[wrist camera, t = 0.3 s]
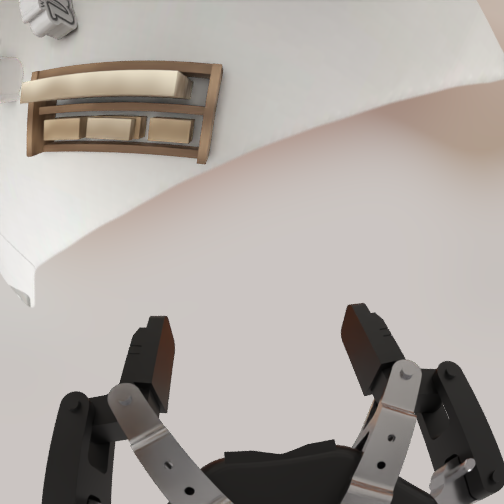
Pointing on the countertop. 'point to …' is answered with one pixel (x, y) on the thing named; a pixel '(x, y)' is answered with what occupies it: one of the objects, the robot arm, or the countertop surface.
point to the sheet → (109, 85)
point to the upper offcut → (111, 128)
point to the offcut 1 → (65, 128)
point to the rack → (188, 69)
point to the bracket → (10, 79)
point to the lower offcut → (139, 126)
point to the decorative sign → (48, 17)
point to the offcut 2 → (171, 129)
